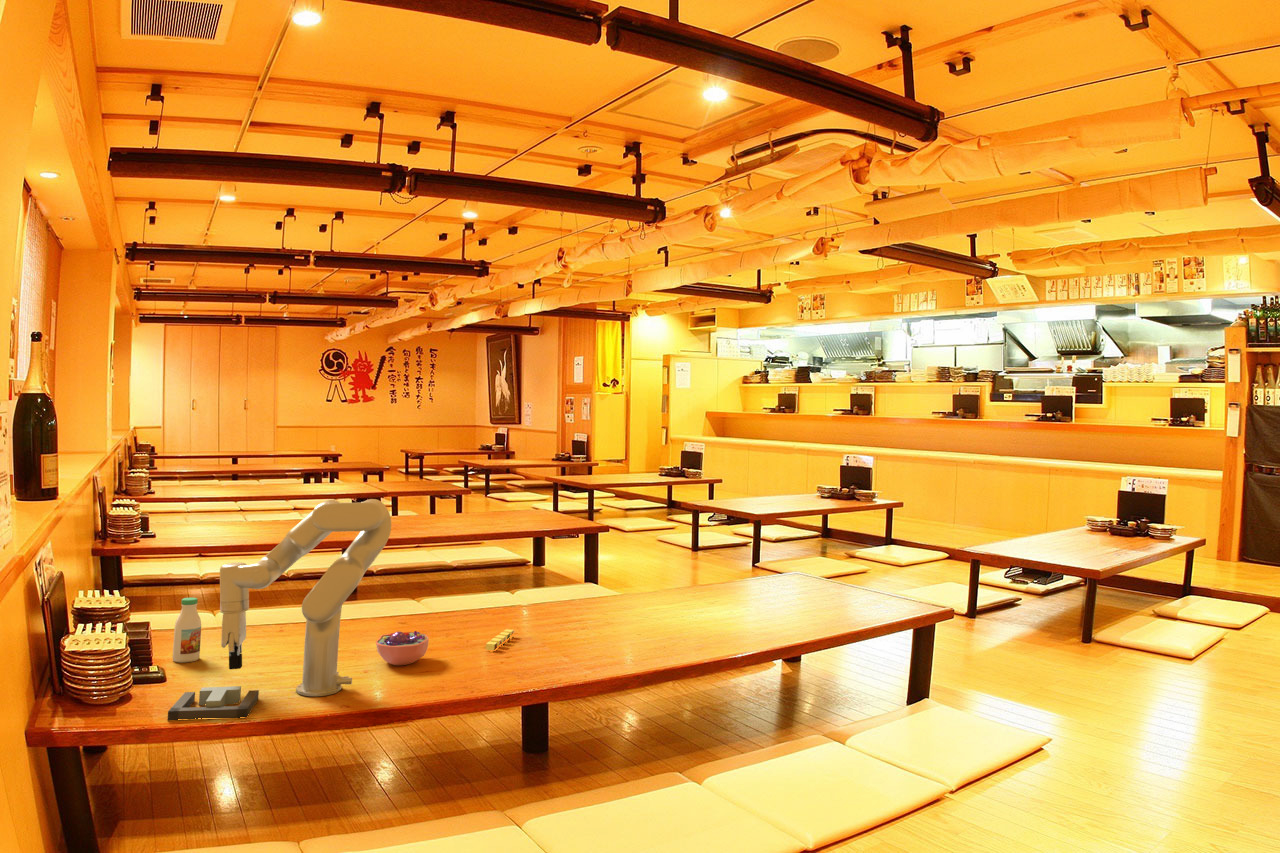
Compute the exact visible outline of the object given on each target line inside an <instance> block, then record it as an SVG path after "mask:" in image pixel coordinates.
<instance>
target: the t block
mask: <svg viewBox="0 0 1280 853" xmlns="http://www.w3.org/2000/svg"><path fill="white" fill-rule="evenodd" d="M241 693H242V686H241V685H237V686H236V685H235V686H212V687H211V686H210V687H209V686H206V687H201V688H200V690H199V696H198V706H204V707H222V706H226V705H234V703H235V704H236V703H239V704H240V702H241V696H242V694H241ZM239 701H240V702H239ZM205 704H206V705H205ZM225 704H226V705H225Z"/></svg>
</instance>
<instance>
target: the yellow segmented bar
mask: <svg viewBox="0 0 1280 853" xmlns="http://www.w3.org/2000/svg"><path fill="white" fill-rule="evenodd" d="M513 633H514V634H515V630H514V629H507V628H505V629H504V630H503V631H501V632H500V633H499V634H497V635H495V637H493V638H491V639H490V641H487V642H486V643H485V650H486V649H487V650H495V649H496V648H497V646H499V645H500V644H502V642H504V641H505V640H506V639H508V638H509V637H510V635H512V634H513Z"/></svg>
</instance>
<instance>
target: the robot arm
mask: <svg viewBox="0 0 1280 853" xmlns="http://www.w3.org/2000/svg"><path fill="white" fill-rule="evenodd" d="M391 531H392V518H391V514H390V511H389V510H388V508H387V506H386V505H385V504H384V502H382V501H380V500H379V499H376V498H375V499H374V498H369V499H367V500H364V501H361V502H340V501H338V500H336V499H327V500H324V501H323V502H320V503H319V504H318V505H316V506H315V507H314V509H313V510H312V511H311V512H310V513H308V514H307V515H306V516H305V517H304V518H303V519H301V521H300V522H298V523H297V524H296V525H295V526H294V527H292V528H291V529H290V530H289V531H288V532H287V533H286V535H285V536H284V538H283V539H282V540H281V541H280V542H279V543H278V544H277V545H276V546H275V547H273V549H272V550H270V551H269V552H268V553H267V554H265V556H263V557H262V558H261V559H260V560H258V561H257V562H255V563H252V564H247V563H245V562H229V563H225V564H223V565H221V566H220V568H219V597H220V598H219V600H220V601H219V602H220V603H219V605H220V606H219V610H220V611H219V612H220V614H222V619H221V620H222V621H221V643H220V644H221V648H222V649H223V648H224V649H225V648H226V647H227V645H228V669H229V670H239V669H242V667H243V653H242V652H243V643H244V642H245V640H246V637H247V618H246V616H247V613H246V612H247V611H249V610H250V590H251V589H252V590H253V589H254V590H261V589H264V588H267V587H269V586H270V585H271V584H272V583H274V582H275V581H276V580H277V579H278V578H279V577H280V576H282V575H283V574H284V573H285V572H286V571H287V570H288V569H289V568H291V567H292V566H293V565H295V564H296V562H297V561H299V560H300V559H301V558H303V557H304V556H306V555H308V554H309V553H310V552H312V550H314V549H315V547H317V546H318V545H319V544H320V543H322V541H324V540H325V539H326V538H327V537H328V536H330V535H331V533H333V532H336V533H337V532H341V533H342V532H343V533H345V532H359V533H357V536H356V537H355V538H354V539H353V541H352V542H351V543H350V545H349V546H348V547H347V548H346V549H345V551H344V552H343V553H342V555H340V557H338V558H337V559H336V560H335V561H334V562H333V563H332V564H331V565H330V566H329V567H328V568H327V570H326V571H325V572H324V573H323V575H322V576H321V577H320V579H319V580H318V581H317V582H316V584H314V586H313V587H312V588H311V589H310V591H309V592H308V593H307V595H306V596H305V597H304V599H303V600H302V604H301V613H302V615H303V617H304V618H305V619H306V620H305V621H306V622H305V632H304V633H305V634H304V635H305V636H304V648H303V649H304V650H303V667H302V682H301V683H299V684H298V685H297V686H296V688H295V690H296V691H295V692H296V693H297V694H298V695H301V696H306V697H324V696H330V695H333V694H337V693H338V692H340V691H341V690H342V685H352V684H353V677H349V676H348V675H345V676H341V675H339V674H340V673H339V671H338V661H339V660H338V659H339V658H338V657H339V645H340V644H339V642H340V641H339V640H340V629H341V628H340V627H341V618H342V606H343V604H344V603H345V602H346V601H347V600H348V598H349V597H350V595H352V593H353V592H354V591H355V589H356V588H357V587H358V586H359V584H360V582H361V581H362V579H363V577H364V575H365V573H366V572H367V570H368V569H369V568H370V566H371V565H372V564H373V563H374V561H375V560H376V559H377V557H378V556H379V555H380V554H381V552H382V551H383V549H384V548H385V546H386V545H387V542H388V540H389V538H390V536H391Z"/></svg>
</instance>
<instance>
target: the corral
mask: <svg viewBox="0 0 1280 853" xmlns="http://www.w3.org/2000/svg"><path fill="white" fill-rule="evenodd" d="M259 692H260V691H259V689H257V690H255V689H254V690H251V689H250V690H248V692H247V693H246V695H245V696H244V698H243V699H242V700H241V701H240V703H239V705H234V706H233V705H232V706H230V705H229V706H226V705H225V706H222V707H205V706H199V707H198V706H195V707H193V706H192V705H193V703H194V702H195V700H196V699H195V698H196V692H195V691H186V692H184V693H183V694H182V695H181V697H179V699H178V700H176V702H174V704H173V705H172V707H170V708H169V709H168V711H167V720H178V719H195V718H196V719H198V718H201V719H202V718H238V719H241V718H240V717H247V716H249V715H250V714H251V712H252V710H253V709H254V707H255V705H256V704H257V701H258V700H259V694H260V693H259ZM255 703H256V704H255ZM191 704H192V705H191ZM191 706H192V707H191ZM253 706H254V707H253ZM250 711H251V712H250ZM248 714H249V715H248ZM247 718H248V717H247Z"/></svg>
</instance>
